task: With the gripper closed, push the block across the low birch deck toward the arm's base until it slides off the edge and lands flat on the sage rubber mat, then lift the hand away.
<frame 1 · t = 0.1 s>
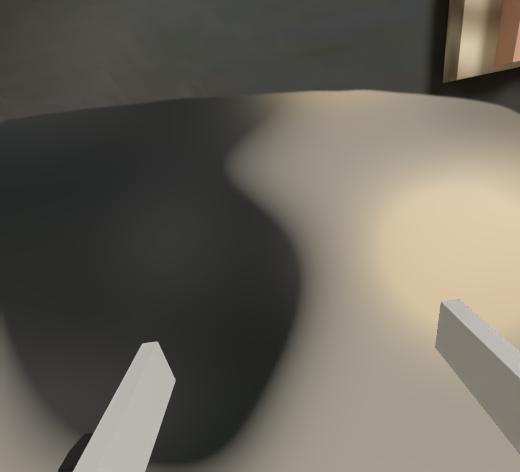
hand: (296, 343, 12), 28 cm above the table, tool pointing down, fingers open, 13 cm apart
deck: (511, 10, 29), on the table
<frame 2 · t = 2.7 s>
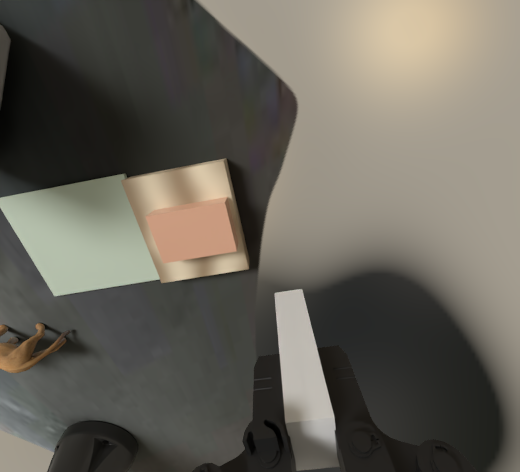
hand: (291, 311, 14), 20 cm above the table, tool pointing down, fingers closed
deck: (194, 221, 33), on the table
block: (197, 226, 31), point 2 cm above the table, touching deck
mat: (87, 239, 34), on the table
lion figurine: (29, 334, 41), on the table
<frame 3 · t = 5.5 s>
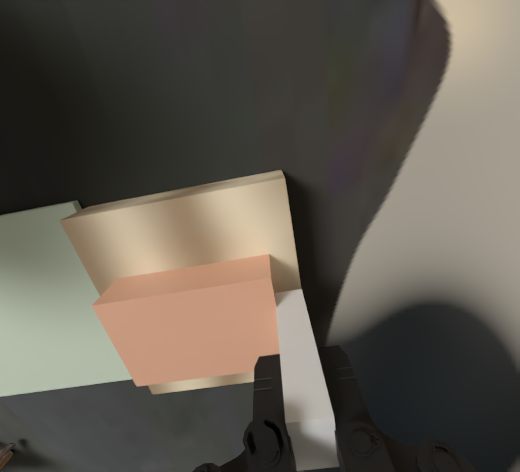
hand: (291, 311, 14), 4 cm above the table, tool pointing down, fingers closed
deck: (212, 285, 18), on the table
block: (205, 308, 16), point 3 cm above the table, touching gripper
mat: (19, 315, 19), on the table
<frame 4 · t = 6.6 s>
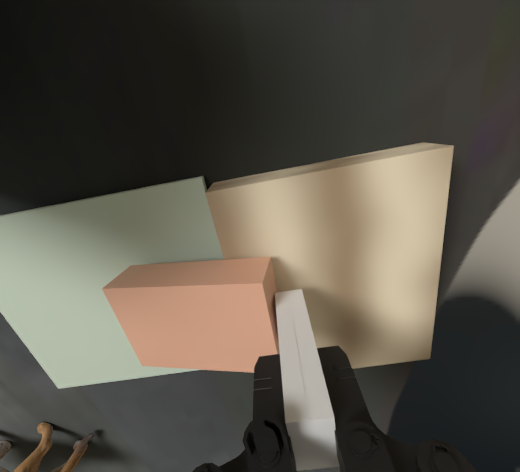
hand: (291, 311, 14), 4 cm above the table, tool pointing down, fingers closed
deck: (325, 266, 17), on the table
block: (208, 302, 16), point 2 cm above the table, tilted 11°, touching gripper
mat: (119, 299, 18), on the table
lion figurine: (27, 435, 26), on the table
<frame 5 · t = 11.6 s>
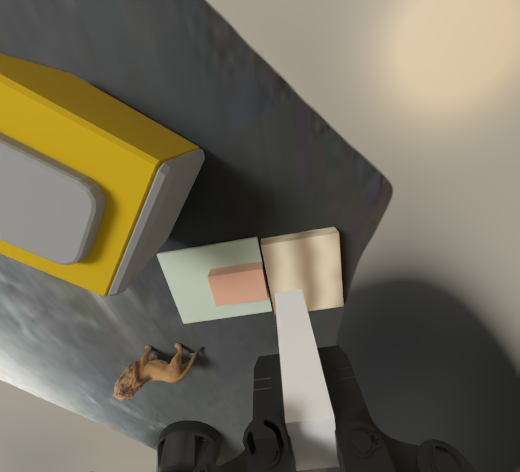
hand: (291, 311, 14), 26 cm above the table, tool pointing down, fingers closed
deck: (302, 269, 44), on the table
block: (239, 280, 44), resting on mat
mat: (217, 282, 45), on the table
alarm clock: (127, 165, 37), on the table
lion figurine: (165, 351, 52), on the table
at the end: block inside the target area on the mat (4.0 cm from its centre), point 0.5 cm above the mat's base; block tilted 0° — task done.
